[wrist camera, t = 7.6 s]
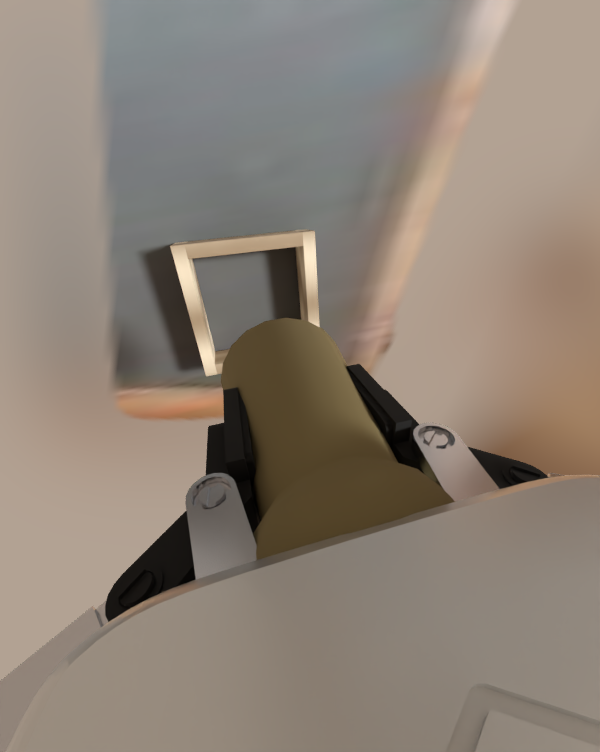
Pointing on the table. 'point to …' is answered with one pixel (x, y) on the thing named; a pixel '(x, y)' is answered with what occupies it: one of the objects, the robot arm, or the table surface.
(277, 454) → the cork
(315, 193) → the table surface
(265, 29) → the table surface
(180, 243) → the beige square frame
